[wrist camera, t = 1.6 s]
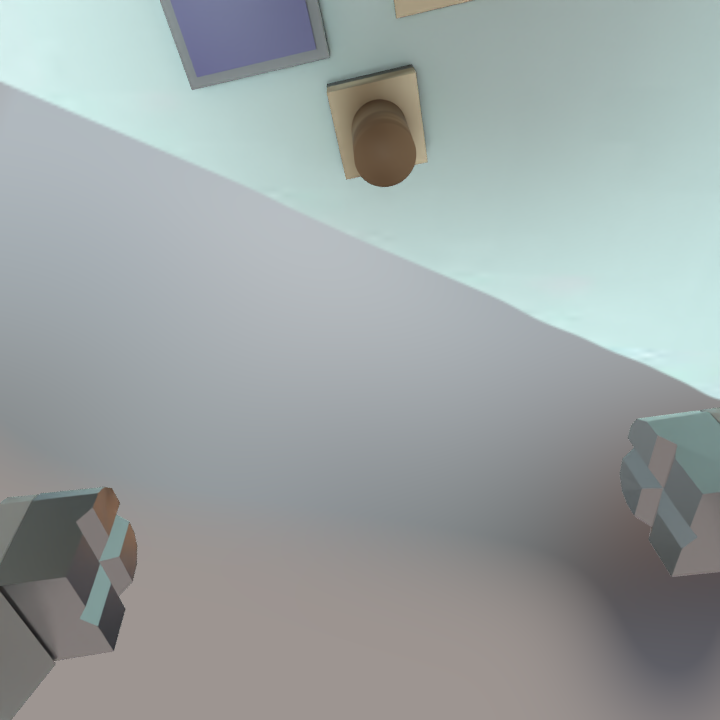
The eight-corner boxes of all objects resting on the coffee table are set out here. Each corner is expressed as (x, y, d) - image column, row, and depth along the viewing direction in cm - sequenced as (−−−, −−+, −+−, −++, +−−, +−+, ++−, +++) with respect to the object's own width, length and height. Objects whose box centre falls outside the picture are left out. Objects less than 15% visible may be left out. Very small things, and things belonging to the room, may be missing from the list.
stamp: (411, 64, 33) (427, 93, 27) (422, 150, 36) (439, 192, 30) (327, 83, 33) (326, 116, 28) (345, 167, 36) (347, 211, 31)
